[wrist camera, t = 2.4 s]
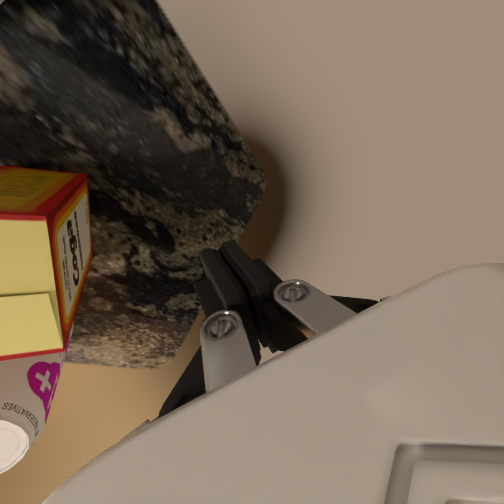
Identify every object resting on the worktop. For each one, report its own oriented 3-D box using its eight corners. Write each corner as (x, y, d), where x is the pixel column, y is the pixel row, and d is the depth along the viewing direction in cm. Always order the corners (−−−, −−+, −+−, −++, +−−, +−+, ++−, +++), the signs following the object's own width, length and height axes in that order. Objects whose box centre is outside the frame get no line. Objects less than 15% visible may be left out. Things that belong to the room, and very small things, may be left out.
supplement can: (75, 292, 31) (38, 401, 18) (73, 345, 33) (39, 473, 21) (-16, 291, 27) (-140, 427, 15) (-11, 351, 30) (-112, 510, 17)
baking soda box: (5, 165, 24) (-153, 210, 11) (87, 174, 27) (43, 218, 13) (21, 257, 27) (-82, 377, 14) (92, 256, 30) (62, 356, 17)
